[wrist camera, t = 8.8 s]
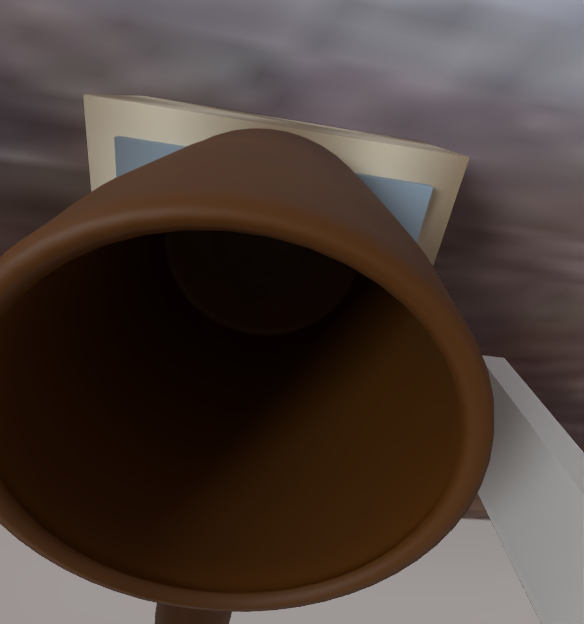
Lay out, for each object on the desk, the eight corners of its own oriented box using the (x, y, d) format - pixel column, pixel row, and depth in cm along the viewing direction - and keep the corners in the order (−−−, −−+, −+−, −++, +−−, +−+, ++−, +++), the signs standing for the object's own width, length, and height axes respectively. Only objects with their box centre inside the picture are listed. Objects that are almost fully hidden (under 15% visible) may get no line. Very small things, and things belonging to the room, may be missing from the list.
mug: (314, 436, 18) (334, 731, 10) (141, 408, 17) (-3, 702, 9) (408, 156, 12) (648, 274, 4) (159, 96, 12) (-180, 87, 3)
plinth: (149, 336, 22) (105, 410, 17) (144, 96, 17) (76, 93, 12) (359, 362, 23) (378, 440, 18) (419, 141, 18) (474, 158, 12)
